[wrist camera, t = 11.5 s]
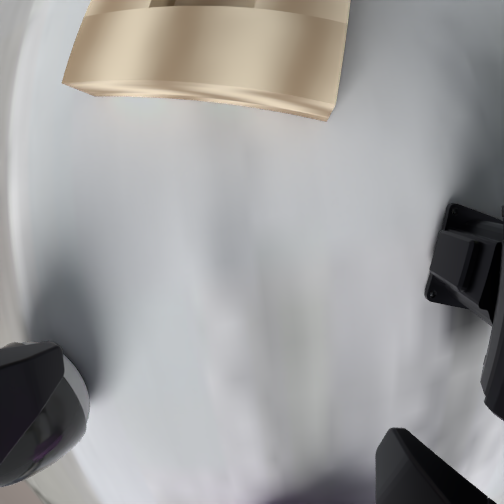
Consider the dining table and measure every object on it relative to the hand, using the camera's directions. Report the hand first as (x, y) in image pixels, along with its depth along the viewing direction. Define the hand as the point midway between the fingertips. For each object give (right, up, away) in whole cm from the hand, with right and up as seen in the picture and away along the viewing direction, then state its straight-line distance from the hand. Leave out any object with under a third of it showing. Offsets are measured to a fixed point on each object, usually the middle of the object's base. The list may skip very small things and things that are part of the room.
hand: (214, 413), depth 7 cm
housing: (-1, +21, +9) cm, 23 cm away
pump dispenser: (-17, -8, +17) cm, 25 cm away
